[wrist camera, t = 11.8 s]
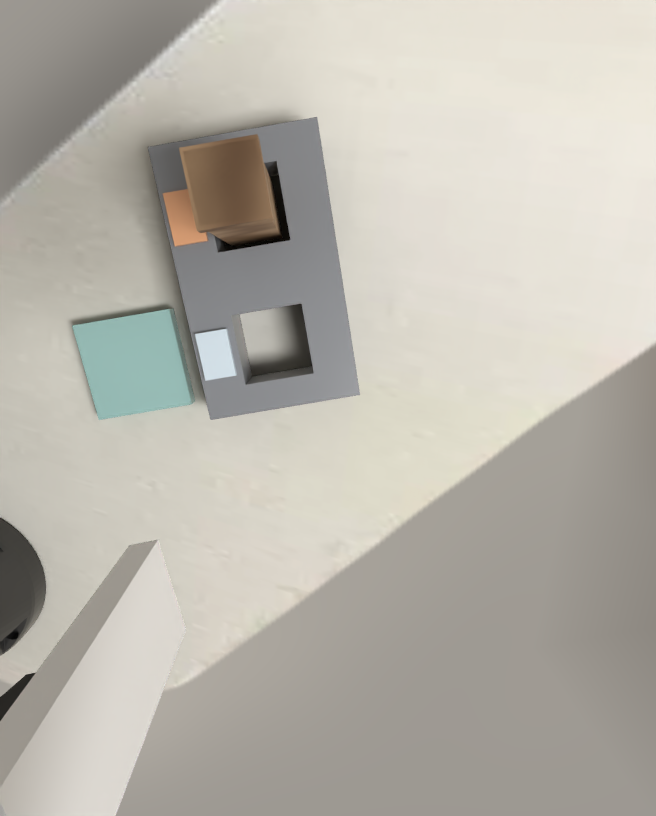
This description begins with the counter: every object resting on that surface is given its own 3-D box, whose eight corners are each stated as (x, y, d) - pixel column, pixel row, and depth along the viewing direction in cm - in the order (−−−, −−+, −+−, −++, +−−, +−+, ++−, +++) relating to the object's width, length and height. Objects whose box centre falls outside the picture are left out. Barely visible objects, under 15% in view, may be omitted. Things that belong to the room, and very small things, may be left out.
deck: (104, 416, 42) (99, 419, 41) (79, 324, 41) (72, 325, 39) (195, 401, 42) (191, 404, 41) (173, 308, 40) (169, 308, 39)
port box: (220, 408, 42) (209, 421, 38) (165, 162, 38) (145, 145, 34) (355, 385, 42) (360, 395, 38) (316, 135, 38) (316, 114, 33)
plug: (232, 249, 40) (196, 231, 28) (220, 192, 38) (178, 148, 27) (285, 240, 39) (272, 217, 28) (275, 182, 38) (257, 133, 27)
